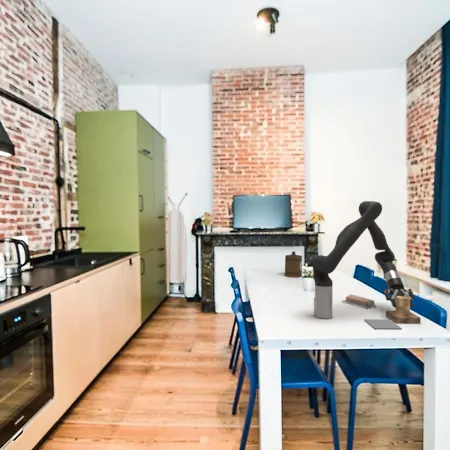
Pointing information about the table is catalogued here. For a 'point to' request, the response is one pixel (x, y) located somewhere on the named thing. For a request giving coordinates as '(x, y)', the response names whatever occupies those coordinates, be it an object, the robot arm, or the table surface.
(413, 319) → the walnut ledge
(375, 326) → the mat
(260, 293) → the table surface
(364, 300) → the packaged product
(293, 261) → the wooden container
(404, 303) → the maple block
